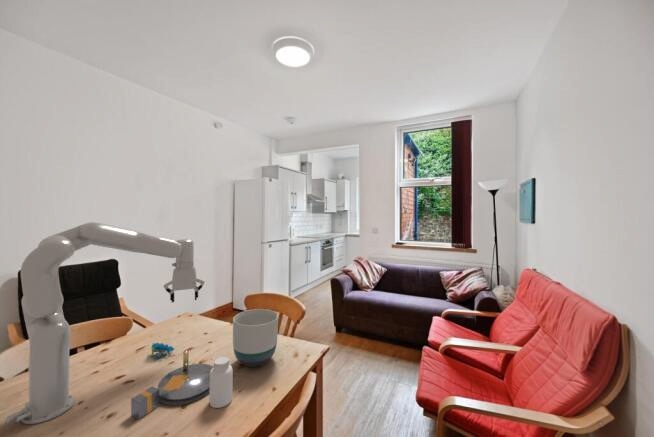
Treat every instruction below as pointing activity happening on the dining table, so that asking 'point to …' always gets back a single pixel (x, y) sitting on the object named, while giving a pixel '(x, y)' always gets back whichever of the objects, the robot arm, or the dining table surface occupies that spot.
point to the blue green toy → (160, 348)
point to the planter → (255, 336)
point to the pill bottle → (221, 383)
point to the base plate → (183, 402)
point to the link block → (145, 402)
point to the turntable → (185, 381)
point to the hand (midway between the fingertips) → (184, 300)
